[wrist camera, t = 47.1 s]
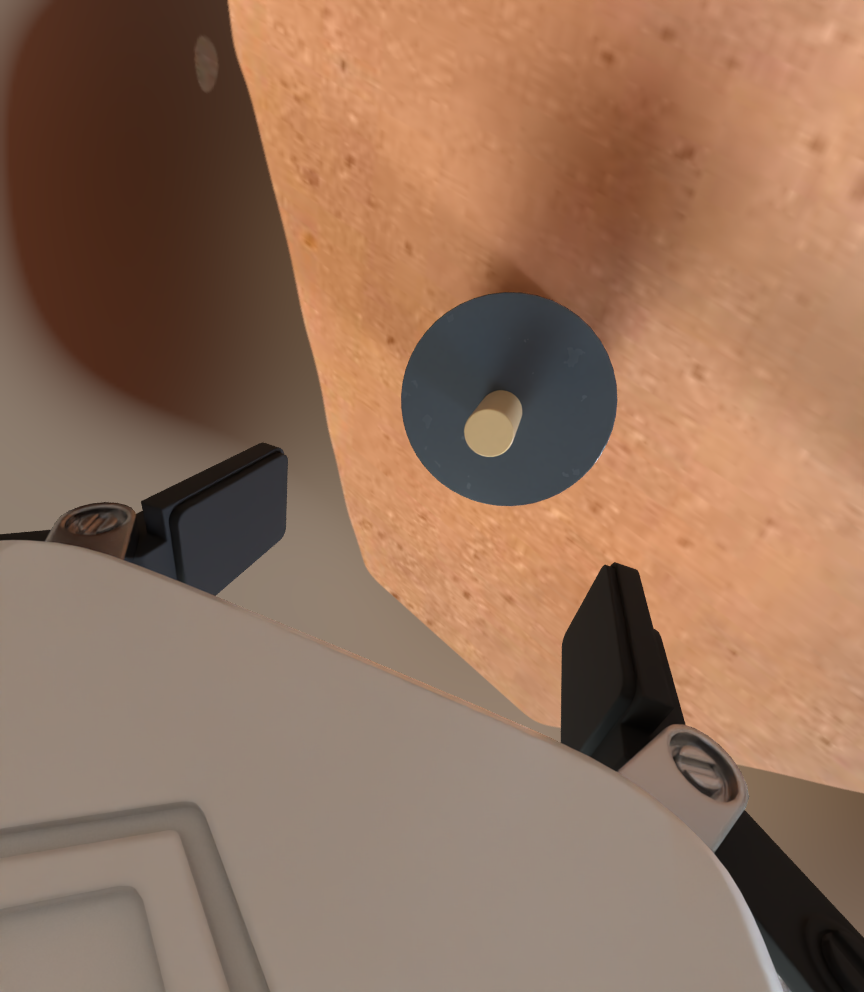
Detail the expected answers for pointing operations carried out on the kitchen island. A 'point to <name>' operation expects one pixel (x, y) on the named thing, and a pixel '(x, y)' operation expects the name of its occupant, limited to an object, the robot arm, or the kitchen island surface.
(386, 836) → the robot arm
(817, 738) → the kitchen island surface
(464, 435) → the lid
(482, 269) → the kitchen island surface
